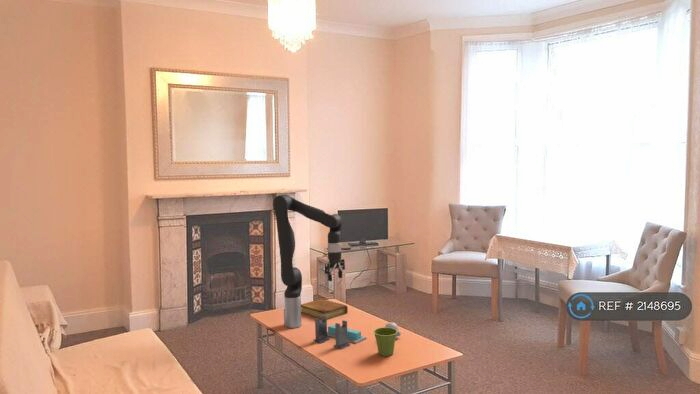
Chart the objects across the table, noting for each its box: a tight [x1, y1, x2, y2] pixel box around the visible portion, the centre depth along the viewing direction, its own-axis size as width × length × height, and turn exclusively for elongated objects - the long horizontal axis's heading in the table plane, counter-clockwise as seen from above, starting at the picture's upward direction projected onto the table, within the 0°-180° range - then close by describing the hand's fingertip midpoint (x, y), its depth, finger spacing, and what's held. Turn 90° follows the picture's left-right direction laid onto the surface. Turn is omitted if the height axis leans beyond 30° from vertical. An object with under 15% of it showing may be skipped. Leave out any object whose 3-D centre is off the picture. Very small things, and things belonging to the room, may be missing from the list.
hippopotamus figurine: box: [384, 321, 402, 341], centre depth 286 cm, size 7×12×8 cm, turn 129°
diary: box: [301, 298, 349, 321], centre depth 336 cm, size 23×19×6 cm
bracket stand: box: [313, 316, 351, 350], centre depth 282 cm, size 19×7×12 cm, turn 50°
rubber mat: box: [327, 331, 367, 345], centre depth 292 cm, size 23×9×1 cm, turn 50°
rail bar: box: [327, 324, 362, 340], centre depth 292 cm, size 20×4×4 cm, turn 51°
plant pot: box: [372, 326, 398, 357], centre depth 266 cm, size 12×12×11 cm
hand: (335, 279), depth 303 cm, fingers open, 8 cm apart
